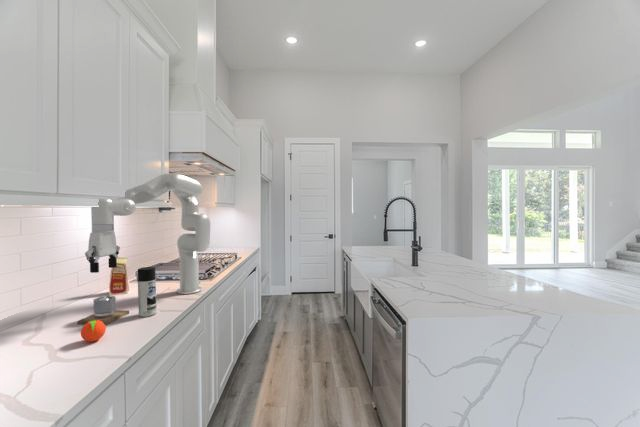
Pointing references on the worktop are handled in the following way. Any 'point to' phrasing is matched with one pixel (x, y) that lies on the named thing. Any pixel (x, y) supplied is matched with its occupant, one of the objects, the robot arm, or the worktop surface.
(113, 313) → the grey rounded fixture
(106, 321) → the base plate
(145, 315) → the spray can
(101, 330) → the clementine
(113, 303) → the octagonal pot
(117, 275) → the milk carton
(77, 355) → the worktop surface
